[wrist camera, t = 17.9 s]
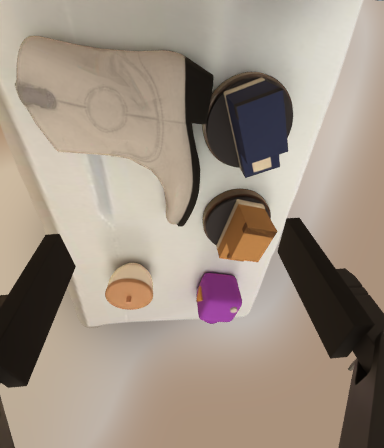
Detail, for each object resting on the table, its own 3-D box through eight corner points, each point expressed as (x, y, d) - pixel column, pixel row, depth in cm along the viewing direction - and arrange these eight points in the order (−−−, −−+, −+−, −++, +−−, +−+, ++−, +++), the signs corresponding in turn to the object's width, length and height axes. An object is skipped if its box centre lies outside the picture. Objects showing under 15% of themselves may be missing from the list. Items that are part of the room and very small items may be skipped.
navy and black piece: (195, 97, 35) (201, 112, 28) (287, 61, 33) (319, 68, 26) (218, 175, 43) (227, 203, 36) (293, 151, 41) (318, 174, 34)
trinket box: (130, 288, 65) (125, 320, 58) (102, 267, 59) (92, 300, 52) (162, 273, 62) (161, 305, 55) (136, 249, 56) (131, 281, 49)
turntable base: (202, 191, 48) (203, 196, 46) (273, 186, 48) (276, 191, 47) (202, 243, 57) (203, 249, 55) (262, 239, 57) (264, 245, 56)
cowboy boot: (227, 61, 28) (-11, 10, 24) (189, 244, 43) (37, 231, 39) (214, 62, 36) (33, 23, 32) (186, 216, 50) (60, 203, 47)
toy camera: (193, 301, 71) (196, 333, 63) (196, 270, 63) (200, 304, 55) (229, 299, 72) (236, 332, 64) (236, 269, 64) (246, 302, 56)
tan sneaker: (217, 190, 45) (226, 219, 38) (280, 203, 48) (299, 232, 41) (198, 242, 53) (202, 273, 46) (253, 250, 56) (265, 281, 49)
